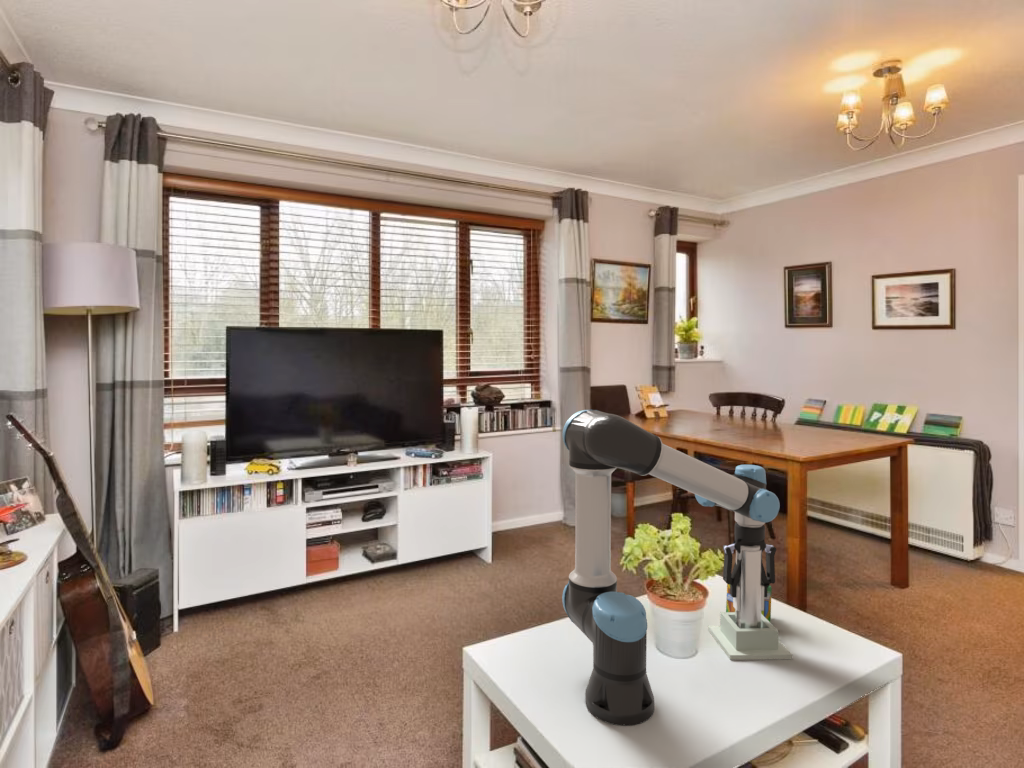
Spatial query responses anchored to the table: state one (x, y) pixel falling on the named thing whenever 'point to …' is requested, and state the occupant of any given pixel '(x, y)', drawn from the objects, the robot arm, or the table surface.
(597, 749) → the table surface
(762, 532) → the robot arm
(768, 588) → the chalk box
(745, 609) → the silver metal bar
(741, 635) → the socket block
